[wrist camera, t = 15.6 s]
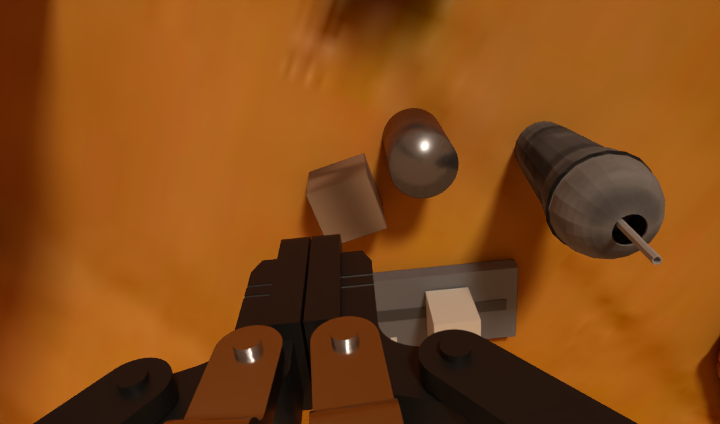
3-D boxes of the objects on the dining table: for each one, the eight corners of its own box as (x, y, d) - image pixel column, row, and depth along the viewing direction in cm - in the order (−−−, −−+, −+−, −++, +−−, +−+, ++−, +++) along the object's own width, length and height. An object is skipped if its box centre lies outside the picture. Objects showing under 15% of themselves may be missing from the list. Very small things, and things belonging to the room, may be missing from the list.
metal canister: (384, 168, 46) (392, 201, 39) (380, 111, 43) (387, 137, 37) (442, 162, 46) (458, 194, 39) (440, 105, 43) (457, 130, 37)
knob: (427, 333, 51) (435, 370, 47) (425, 291, 49) (434, 324, 45) (468, 330, 51) (480, 365, 47) (468, 287, 49) (481, 320, 45)
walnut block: (330, 220, 48) (329, 247, 43) (309, 171, 46) (306, 195, 41) (382, 202, 47) (387, 228, 43) (363, 152, 45) (366, 174, 41)
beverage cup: (544, 200, 47) (669, 347, 29) (481, 159, 46) (573, 290, 28) (601, 133, 45) (776, 250, 27) (536, 88, 43) (677, 181, 25)
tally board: (276, 349, 54) (274, 360, 52) (262, 283, 50) (260, 293, 49) (510, 326, 53) (515, 336, 52) (513, 259, 50) (518, 268, 49)
